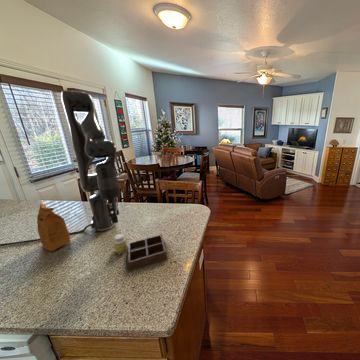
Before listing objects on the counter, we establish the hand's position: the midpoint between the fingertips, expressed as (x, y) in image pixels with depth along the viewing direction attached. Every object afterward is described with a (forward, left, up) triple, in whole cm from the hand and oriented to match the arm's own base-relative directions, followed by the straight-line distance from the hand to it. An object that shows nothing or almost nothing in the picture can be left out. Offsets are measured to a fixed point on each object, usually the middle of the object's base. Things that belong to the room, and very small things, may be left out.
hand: (116, 218), depth 88 cm
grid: (+11, -9, -18) cm, 23 cm away
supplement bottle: (0, 0, -18) cm, 18 cm away
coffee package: (-30, +22, -18) cm, 42 cm away
